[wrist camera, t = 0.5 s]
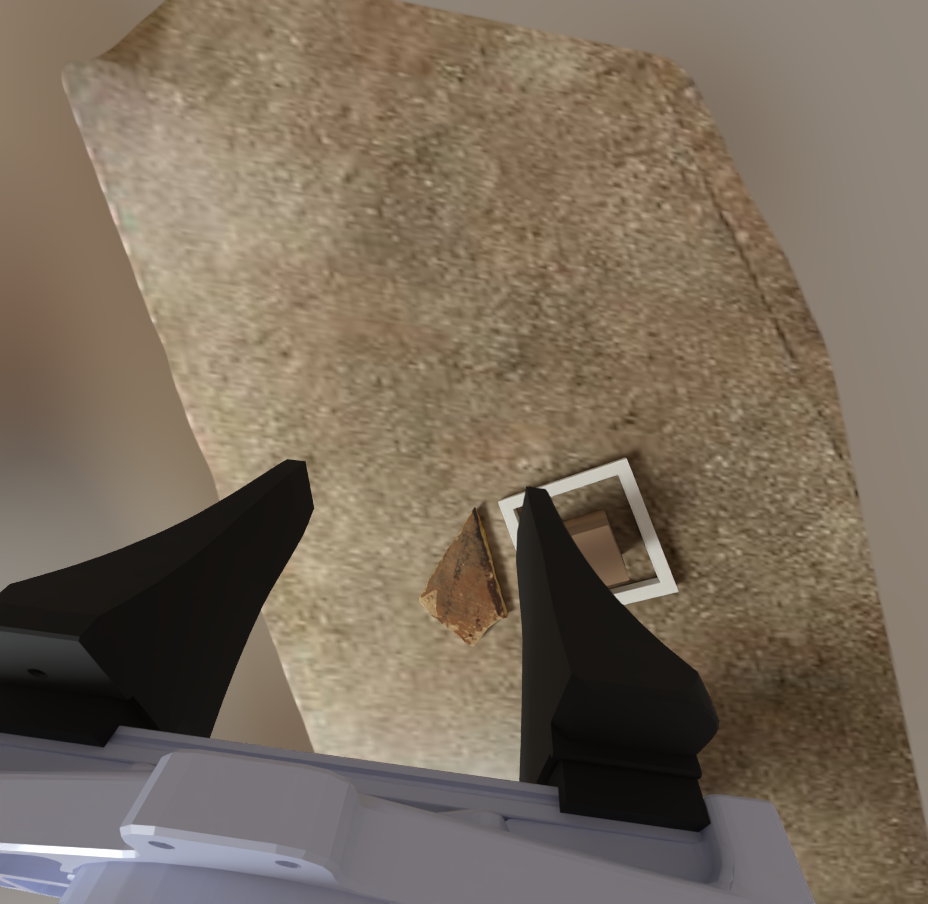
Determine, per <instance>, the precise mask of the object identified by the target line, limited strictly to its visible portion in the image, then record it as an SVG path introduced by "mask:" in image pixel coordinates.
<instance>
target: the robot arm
mask: <svg viewBox="0 0 928 904" xmlns="http://www.w3.org/2000/svg"><path fill="white" fill-rule="evenodd" d="M313 510H314V505H313V499H312V494H311V489H310V483H309V478H308V472H307V467H306V462H305V461H298V460H289V459H287V460H285V461H283V462H282V463H280V464H278V465H277V466H275V467H274V468H272V469H270V470H269V471H267V472H266V473H264V474H263V475H261V476H260V477H258V478H256V479H255V480H253V481H252V482H250V483H249V484H247V485H245V486H244V487H242V488H241V489H239V490H238V491H236V492H234V493H233V494H231V495H229V496H228V497H226V498H224V499H223V500H221V501H219V502H218V503H216V504H214V505H212V506H210V507H209V508H207V509H205V510H204V511H202V512H200V513H198V514H196V515H194V516H193V517H191V518H189V519H187V520H185V521H183V522H181V523H179V524H177V525H175V526H173V527H170V528H168V529H166V530H164V531H162V532H160V533H158V534H155V535H153V536H151V537H148V538H146V539H143V540H141V541H139V542H136V543H134V544H131V545H129V546H126V547H124V548H122V549H119V550H117V551H114V552H111V553H108V554H106V555H103V556H100V557H97V558H94V559H91V560H88V561H85V562H83V563H80V564H77V565H74V566H71V567H67V568H64V569H61V570H57V571H54V572H51V573H47V574H44V575H40V576H37V577H34V578H30V579H27V580H23V581H20V582H16V583H12V584H10V585H8V586H7V587H6V588H5V589H4V590H2V591H1V592H0V886H1V887H6V888H11V889H16V890H21V891H26V892H32V893H36V894H42V895H47V896H52V897H57V898H61V900H60V901H59V903H58V904H816V903H815V901H814V899H813V896H812V894H811V892H810V889H809V887H808V884H807V882H806V880H805V877H804V875H803V872H802V870H801V868H800V865H799V863H798V860H797V858H796V856H795V853H794V851H793V849H792V846H791V844H790V841H789V839H788V837H787V834H786V832H785V829H784V827H783V825H782V822H781V820H780V818H779V815H778V813H777V810H776V808H775V806H774V804H772V803H771V802H770V801H767V800H761V799H753V798H746V797H739V796H732V795H725V794H710V795H705V796H702V793H701V790H700V787H699V783H698V780H697V779H700V778H701V777H702V772H701V768H700V765H699V762H698V759H697V756H696V755H697V754H698V753H699V752H700V751H701V750H702V749H703V748H704V747H705V746H706V745H707V744H708V743H709V742H710V741H711V740H712V738H713V737H714V735H715V734H716V732H717V731H718V729H719V720H718V717H717V714H716V712H715V709H714V706H713V704H712V701H711V699H710V697H709V694H708V692H707V690H706V688H705V686H704V684H703V682H702V680H701V678H700V676H699V674H698V672H697V671H696V670H694V669H693V668H692V667H691V666H690V665H688V664H687V663H686V662H685V661H683V660H682V659H681V658H680V657H679V656H677V655H676V654H675V653H674V652H673V651H671V650H670V649H669V648H668V647H666V646H665V645H664V644H663V643H662V642H661V641H660V640H658V639H657V638H656V637H655V636H654V635H653V634H652V633H651V632H650V631H649V630H648V629H647V628H645V627H644V626H643V625H642V624H641V623H640V622H639V621H638V620H637V619H636V618H635V617H634V616H633V615H632V614H631V613H630V611H629V610H628V609H627V608H626V607H625V606H624V605H623V604H622V603H621V602H620V601H619V600H618V599H617V598H616V597H615V595H614V594H613V593H612V592H611V591H610V590H609V588H608V587H607V586H606V585H605V584H604V582H603V581H602V580H601V579H600V577H599V576H598V575H597V573H596V572H595V571H594V570H593V568H592V567H591V565H590V564H589V563H588V561H587V560H586V558H585V557H584V555H583V554H582V552H581V551H580V549H579V548H578V546H577V545H576V543H575V542H574V540H573V538H572V537H571V535H570V533H569V532H568V530H567V528H566V527H565V525H564V523H563V521H562V519H561V517H560V516H559V514H558V512H557V510H556V508H555V506H554V504H553V502H552V500H551V497H550V495H549V493H548V491H547V490H546V489H542V488H534V487H526V491H525V496H524V500H523V505H522V510H521V515H520V520H519V525H518V530H517V547H516V565H517V576H518V588H519V599H520V610H521V621H522V638H523V645H522V715H521V750H520V778H519V782H517V781H510V780H503V779H496V778H489V777H482V776H474V775H467V774H460V773H453V772H446V771H439V770H432V769H425V768H417V767H410V766H403V765H396V764H389V763H382V762H375V761H368V760H361V759H353V758H346V757H339V756H332V755H325V754H318V753H311V752H303V751H296V750H289V749H282V748H275V747H268V746H261V745H254V744H247V743H239V742H232V741H225V740H218V739H211V738H210V736H211V733H212V730H213V727H214V724H215V722H216V719H217V716H218V713H219V710H220V707H221V705H222V701H223V699H224V697H225V694H226V691H227V689H228V686H229V684H230V681H231V679H232V676H233V673H234V671H235V668H236V666H237V663H238V661H239V659H240V656H241V654H242V651H243V649H244V647H245V644H246V642H247V639H248V637H249V635H250V632H251V630H252V628H253V626H254V624H255V621H256V619H257V617H258V615H259V613H260V611H261V608H262V606H263V604H264V602H265V601H266V599H267V597H268V595H269V593H270V591H271V590H272V588H273V586H274V584H275V583H276V581H277V579H278V578H279V576H280V574H281V573H282V571H283V569H284V567H285V566H286V564H287V562H288V561H289V559H290V557H291V556H292V554H293V552H294V550H295V549H296V547H297V545H298V543H299V542H300V540H301V538H302V536H303V534H304V532H305V530H306V527H307V525H308V523H309V520H310V518H311V515H312V512H313Z"/></svg>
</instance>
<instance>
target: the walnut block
mask: <svg viewBox="0 0 928 904" xmlns="http://www.w3.org/2000/svg"><path fill="white" fill-rule="evenodd" d="M563 523H564V525H565V527H566V528H567V530H568V532H569V533H570V535H571V537H572V538H573V540H574V542H575V543H576V545H577V546H578V548H579V549H580V551H581V552H582V554H583V555H584V557H585V558H586V560H587V561H588V563H589V564H590V565H591V567H592V568H593V570H594V571H595V572H596V573H597V575H598V576H599V577H600V579H601V580H602V581H603V582H604V584H605V585H606V586H608V585H612V584H616V583H620V582H624V581H628V580H630V579H629V576H628V573H627V570H626V567H625V564H624V561H623V558H622V554H621V552H620V549H619V547H618V544H617V541H616V539H615V536H614V534H613V531H612V528H611V526H610V523H609V521H608V518H607V515H606V513H605V510H604V509H602V510H599V511H596V512H593V513H589V514H586V515H583V516H580V517H576V518H573V519H570V520H567V521H563Z"/></svg>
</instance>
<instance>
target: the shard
mask: <svg viewBox="0 0 928 904" xmlns="http://www.w3.org/2000/svg"><path fill="white" fill-rule="evenodd" d="M419 602H420V603H421V604H422V606H423V607H425V608H426V610H427V611H428V612H429V613H430V614H431V615H432V616H433V617H434V618H436V619H437V620H438V621H440V622H441V623H442V624H444V625H446V627H447V628H449V629H450V630H451V631H453V632H454V633H455V634H457V635H458V636H459V637H460V638H461V639H462V640H463V641H464V642H465V643H467V644H468V645H472V646H475V645H476V643H477V642H478V641H479V639H480V637H482V635H483V634H484V633H485V632H486V630H487V629H488V628H489V627H490V626H492V625H493V624H494V623H495V622H497V621H498V620H499V619H504V618H507V617H508V613H507V609H506V606H505V603H504V601H503V598H502V596H501V590H500V586H499V584H498V581H497V579H496V575H495V571H494V567H493V561H492V557H491V553H490V550H489V545H488V543H487V537H486V533H485V530H484V528H483V526H482V524H481V520H480V517H479V516H478V512H477V510H476V508H475V507H474V509H473V511H472V512H471V513H470V516H469V517H468V519H467V520H466V522H465V523H464V525H463V527H462V529H461V532H460V533H459V534H458V536H457V538H456V539H455V541H454V542H453V543H452V545H451V546H450V547H449V548H448V549H447V551H446V553H445V554H444V556H443V558H442V559H441V561H440V562H439V563H438V565H437V567H436V568H435V571H434V572H433V573H432V575H431V577H430V579H429V581H428V582H427V584H426V589H425V590H424V592H423V593H422V595H421V596H420V599H419Z"/></svg>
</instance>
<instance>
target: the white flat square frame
mask: <svg viewBox="0 0 928 904" xmlns="http://www.w3.org/2000/svg"><path fill="white" fill-rule="evenodd" d="M615 475H618V476H619V479H620V481H621V484H622V486H623V489H624V492H625V494H626V497H627V499H628V502H629V504H630V507H631V510H632V512H633V515H634V517H635V520H636V523H637V525H638V528H639V530H640V533H641V536H642V538H643V541H644V543H645V546H646V548H647V551H648V554H649V556H650V559H651V561H652V564H653V567H654V569H655V572H656V574H657V578H653V579H649V580H645V581H641V582H637V583H633V584H629V585H625V586H621V587H617V588H613V589H609V590H610V591H611V592H612V593H613V594H614V595H615V597H616V598H617V599H618V600H619V601H620V602H621V603H622V604H623V605H625V604H629V603H633V602H637V601H642V600H646V599H650V598H654V597H658V596H663V595H667V594H671V593H675V592H678V589H677V587H676V584H675V581H674V579H673V576H672V574H671V571H670V569H669V566H668V563H667V561H666V558H665V556H664V553H663V551H662V548H661V545H660V543H659V540H658V538H657V535H656V532H655V530H654V527H653V525H652V522H651V520H650V517H649V514H648V512H647V509H646V507H645V504H644V502H643V499H642V496H641V494H640V491H639V489H638V486H637V484H636V481H635V478H634V476H633V473H632V471H631V468H630V466H629V463H628V460H627V458H625V457H624V458H621V459H619V460H616V461H613V462H610V463H607V464H604V465H601V466H598V467H595V468H592V469H589V470H586V471H583V472H580V473H577V474H574V475H571V476H568V477H565V478H562V479H559V480H557V481H554V482H551V483H548V484H545V485H542V486H539V487H536V488H542V489H546V490H547V491H548V493H549V495H550V497H551V496H554V495H557V494H560V493H563V492H567V491H570V490H573V489H576V488H579V487H582V486H585V485H588V484H591V483H594V482H597V481H600V480H603V479H606V478H609V477H612V476H615ZM524 496H525V491H524V492H521V493H518V494H515V495H512V496H509V497H506V498H503V499H501V500H499V501H498V503H499V506H500V509H501V511H502V514H503V517H504V519H505V522H506V525H507V527H508V530H509V533H510V536H511V538H512V541H513V544H514V546H515V549H516V547H517V530H518V525H519V520H520V519H519V516H518V513H517V510H516V508H518V507H521V506H522V505H523V500H524Z"/></svg>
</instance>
